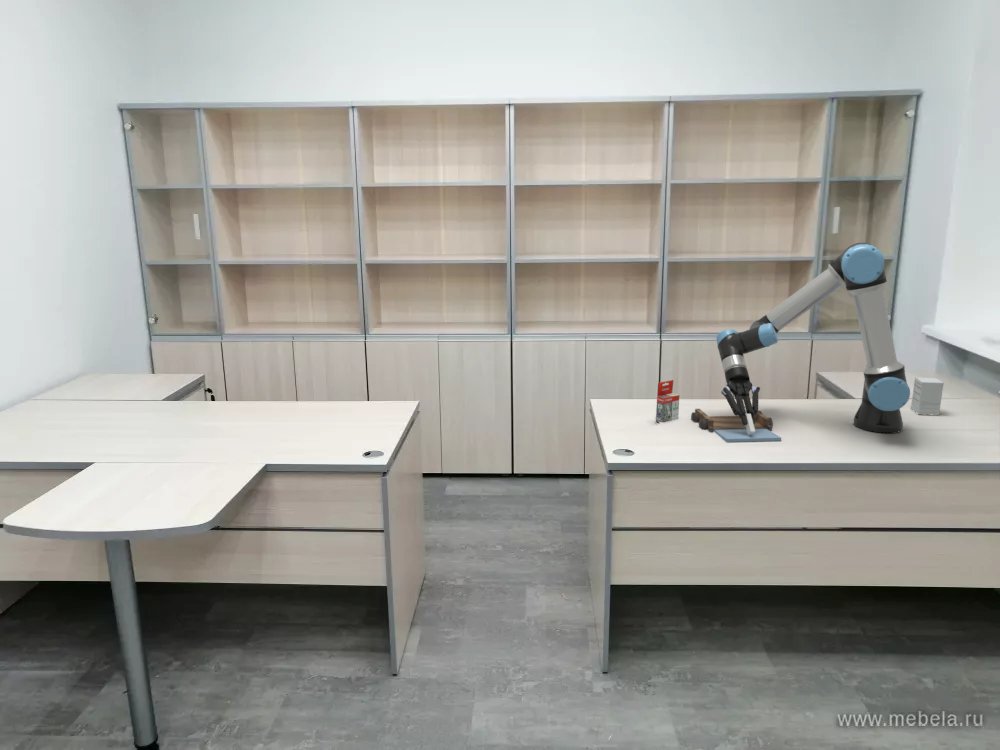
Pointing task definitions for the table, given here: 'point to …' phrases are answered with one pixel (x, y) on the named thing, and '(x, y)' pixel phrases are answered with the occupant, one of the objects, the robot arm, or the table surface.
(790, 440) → the table surface
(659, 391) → the ink box
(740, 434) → the panel
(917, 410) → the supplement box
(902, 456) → the table surface
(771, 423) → the trailer bed
